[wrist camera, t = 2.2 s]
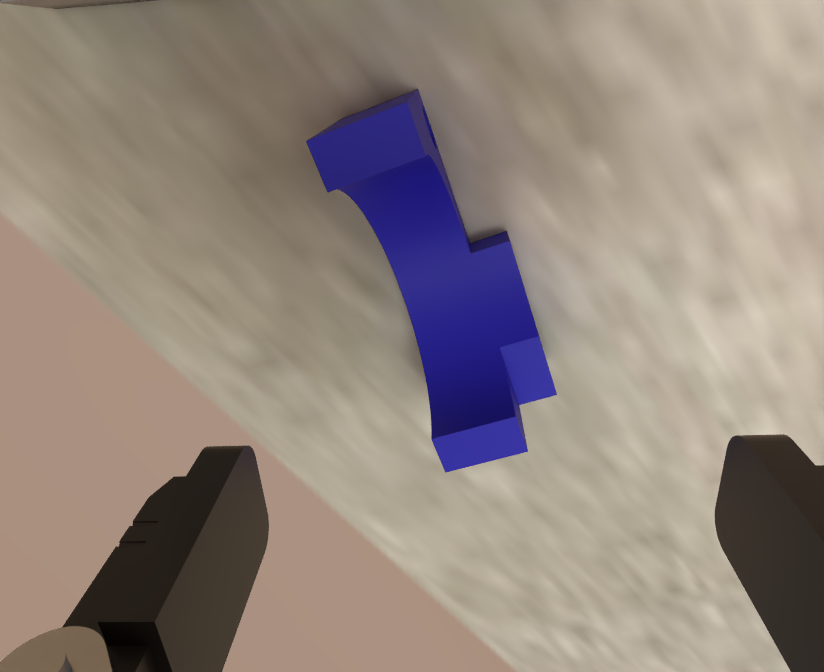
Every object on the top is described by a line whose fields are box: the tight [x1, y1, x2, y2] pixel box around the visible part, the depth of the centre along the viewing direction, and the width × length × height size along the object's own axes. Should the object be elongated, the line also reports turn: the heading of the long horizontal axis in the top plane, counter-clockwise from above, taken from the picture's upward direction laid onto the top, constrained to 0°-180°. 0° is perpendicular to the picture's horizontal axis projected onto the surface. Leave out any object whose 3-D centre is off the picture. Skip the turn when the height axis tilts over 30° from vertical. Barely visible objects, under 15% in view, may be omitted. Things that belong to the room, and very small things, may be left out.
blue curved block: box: [306, 89, 557, 472], centre depth 21 cm, size 12×4×6 cm, turn 20°
